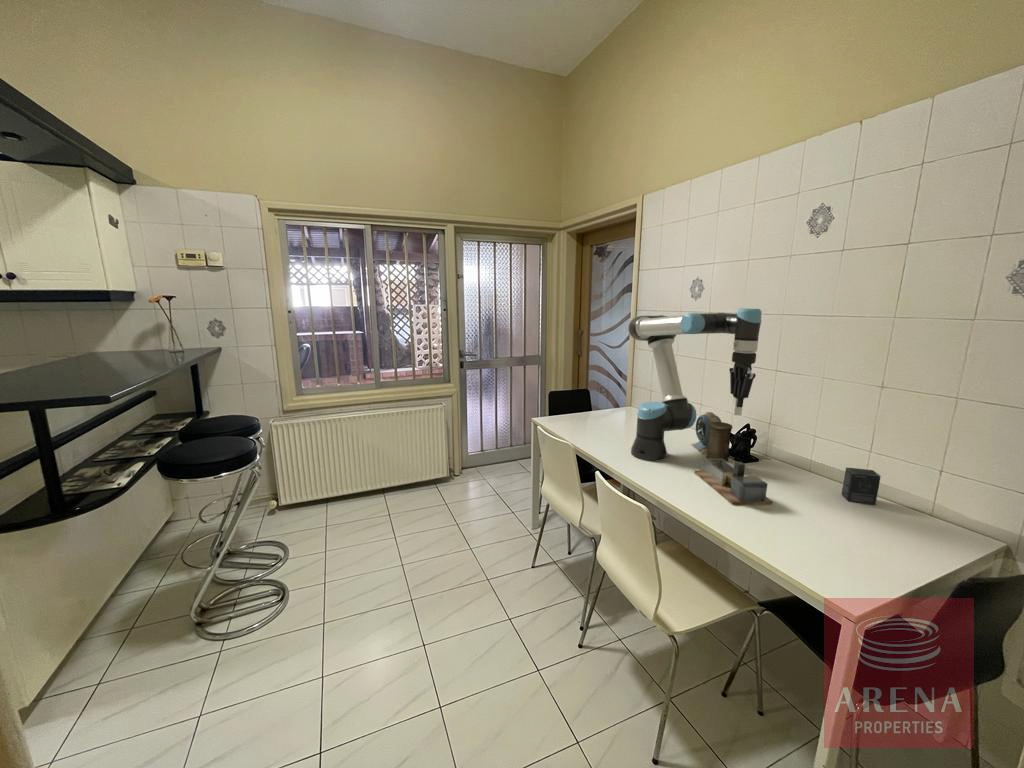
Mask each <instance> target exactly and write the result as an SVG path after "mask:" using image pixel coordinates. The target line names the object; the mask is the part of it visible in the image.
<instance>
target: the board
mask: <svg viewBox="0 0 1024 768" xmlns="http://www.w3.org/2000/svg"><path fill="white" fill-rule="evenodd" d="M694 474H695V475H696V476H698V478H700V479H701V480H702V481H703V482H705V483H706V484H707V485H708V486H709V487H710V488H712V489H713V490H714V491H715V492H716V493H718V494H719V496H721V497H723V499H725V500H726V501H727V502H728V503H729V504H731V505H732V506H739V505H741V506H742V505H773V504H774V502H773V500H772V499H770V498H769V497H768V496H766V499H765V502H740V501H739V500H738V499H736V498H735V497H734V496H733V495H731V494H730V492H731V486H730V485H729V484H727V483H726V482H725V486H721V485H720V484H718V483H717V482H716V481H715V480H713V479H712V478H711V477H710V476H708V475H707V474H706V473H705V472H703V471H702V470H701V469H700V470H694Z"/></svg>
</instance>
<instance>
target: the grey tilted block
mask: <svg viewBox="0 0 1024 768" xmlns="http://www.w3.org/2000/svg"><path fill="white" fill-rule="evenodd" d="M701 469H702V471H703V472H705V473H706V474H707V475H708V476H710V477H711V478H712V479H713V480H715V481H716V482H717V483H718V484H720V485H721V486H725V480H726V472H731V473H732V474H733V471H734V465H733V464H732V463H731V462H727V461H726V460H724V459H723V458H714V459H706V458H703V459H702V468H701Z"/></svg>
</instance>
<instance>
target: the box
mask: <svg viewBox="0 0 1024 768" xmlns="http://www.w3.org/2000/svg"><path fill="white" fill-rule="evenodd" d="M881 477H882V476H881V475H880V474H879V473H878V472H876V471H875V470H873V469H865V468H856V467H847V466H846V467H845V471H844V477H843V483H842V489H841V496H842V497H843V498H844V499H845V500H846V501H847V502H850V503H851V502H853V503H860V504H866V505H875V506H876V505H877V499H878V493H879V492H878V491H879V488H880V483H881Z"/></svg>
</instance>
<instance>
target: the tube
mask: <svg viewBox="0 0 1024 768" xmlns="http://www.w3.org/2000/svg"><path fill="white" fill-rule="evenodd" d="M733 464H734V465H733V466H734V471H733V474H732V473H731V472H726V480H725V482H726V483H727V484H729V485H730V486H731V484H732V476H745V471H746V463H743V462H742V461H734V463H733Z"/></svg>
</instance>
